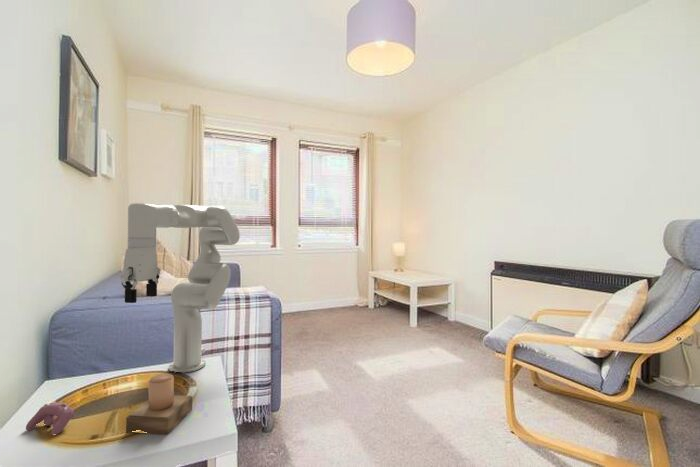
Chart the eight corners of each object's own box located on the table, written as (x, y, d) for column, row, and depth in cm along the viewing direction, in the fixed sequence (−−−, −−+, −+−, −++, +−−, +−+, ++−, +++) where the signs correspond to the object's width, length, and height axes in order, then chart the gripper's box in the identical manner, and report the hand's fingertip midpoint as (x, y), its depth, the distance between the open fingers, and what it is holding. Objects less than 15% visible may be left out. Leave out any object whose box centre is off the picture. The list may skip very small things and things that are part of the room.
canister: (158, 398, 97) (157, 372, 97) (178, 399, 96) (178, 373, 96) (143, 409, 91) (143, 381, 91) (164, 410, 90) (164, 382, 90)
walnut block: (155, 408, 100) (155, 393, 100) (192, 409, 99) (192, 395, 99) (126, 432, 88) (126, 416, 88) (167, 434, 87) (168, 418, 87)
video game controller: (68, 435, 89) (81, 405, 92) (51, 436, 85) (65, 405, 88) (39, 429, 91) (52, 400, 94) (21, 430, 87) (36, 399, 90)
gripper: (148, 242, 114) (147, 293, 115) (109, 244, 97) (108, 305, 97) (170, 242, 114) (169, 294, 114) (134, 245, 97) (134, 305, 97)
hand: (141, 299), depth 106 cm, fingers open, 9 cm apart
